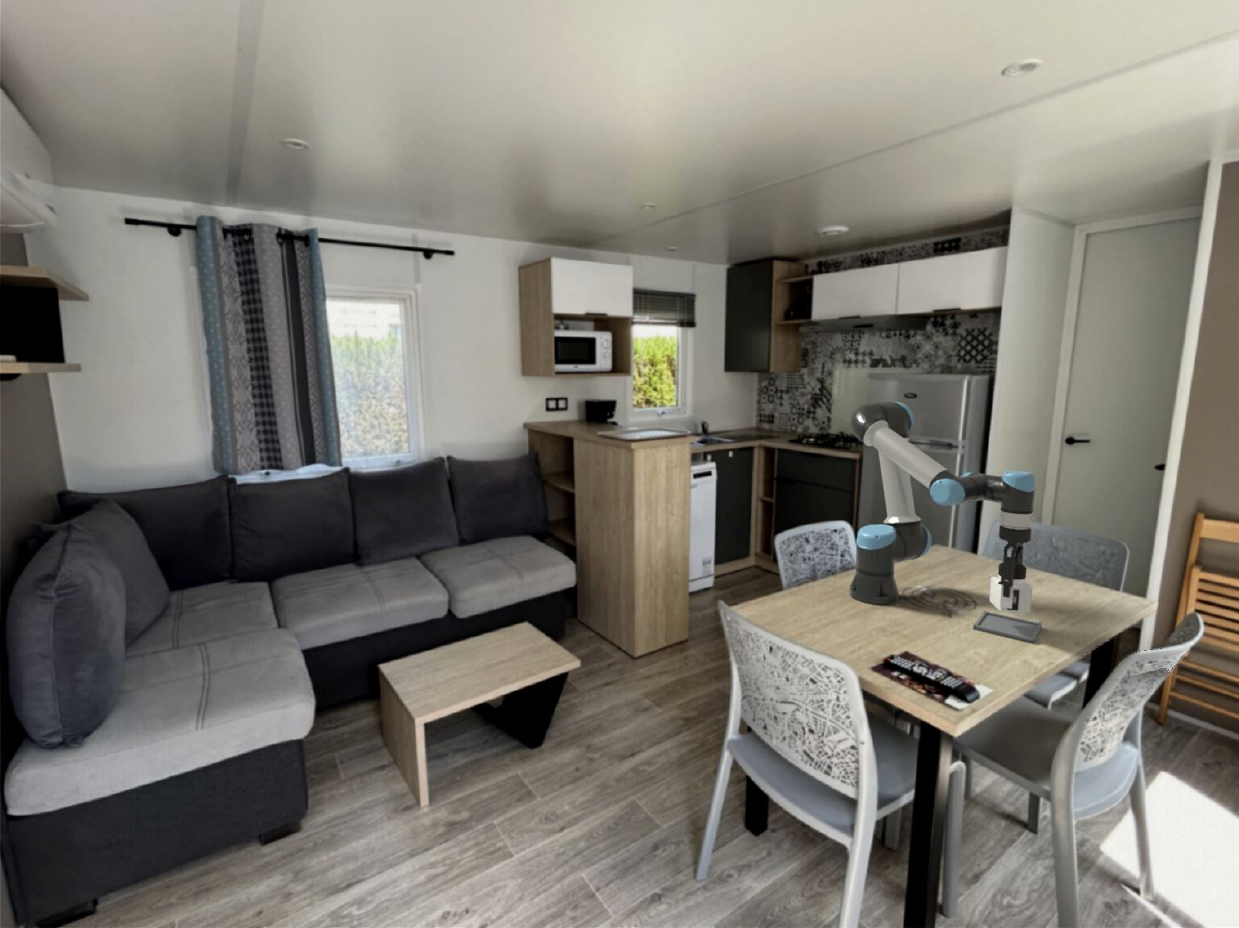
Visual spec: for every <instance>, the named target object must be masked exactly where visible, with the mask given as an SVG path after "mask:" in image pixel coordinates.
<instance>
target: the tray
mask: <svg viewBox="0 0 1239 928" xmlns="http://www.w3.org/2000/svg"><path fill="white" fill-rule="evenodd" d="M1042 627H1043V623H1040V622H1037V621H1031V620H1027V619H1022V618H1017V617H1014V616H1008V615H1005V614H999V613H994V612H991V611H986V610H983V611H982V613H981V615H980V616H979V617H978V619H977V620H976V621H975V622H974V624H973V627H972V629H973V630H975V631H978V632H983V633H987V634H991V635H996V636H1000V637H1004V638H1008V639H1013V640H1016V641H1021V642H1024V643H1028V644H1032V645H1035V642H1036V640H1037V638H1038V636H1039V635H1040V633H1041V630H1042Z"/></svg>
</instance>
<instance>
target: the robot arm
mask: <svg viewBox="0 0 1239 928" xmlns="http://www.w3.org/2000/svg"><path fill="white" fill-rule="evenodd" d="M849 426H850V429H851V432H852V433H853V434H854V436H855V437H856V438H857V439H858V440H859V441H860V442H862V443H863V444H864V445H865V446H867V447H873V448H875V449H876V450H878V459H879V466H880V471H881V478H882V485H883V487H882V488H883V493H884V501H885V507H886V515H887V516H886V518H885V519H884V520H883V524H882V523H879V524H878V523H877V524H868V525H865V526H863V527H860V529H858V531H857V537H856V553H855V558H856V559H855V562H856V563H855V572H854V576H853V578H852V581H851V582H850V585H849V593H850V594H849V596H850V597H852V598H853V599H855V600H857V601H859V600H860V602H862V603H866V604H867V603H868V604H873V605H891V604H895V603H896V602H898V601H899V600H900V597H899V596H900V591H899V588H898V585H897V582H896V579H895V578H896V577H895V564H897V563H902V562H906V561H913V560H917V559H919V558H922V557H923V556H925V555H926V554H927V553H928V552H929V551H930V550H931V547H932V542H933V541H932V539H933V538H932V535H931V533H930V530H929V529H928V528H927V527H926V526H925V525H924V524H923V523H922V518H921V517H919V516H918V515H916V510H915V504H914V496H913V495H914V494H913V489H912V483H911V477H913V478H914V479H915V480H917V481H918V482H919V483H920V484H921V485H923V486H925V488H927V489H928V490H929V491H930V492H929V493H930V497H931V498H932V500H933V501H934V502H935V504H937V505H940V506H945V507H946V506H957V505H960V504H966V503H971V502H978V501H986V502H987V501H988V502H994V503H1000V513H999V524H1000V525H999V528H998V529H999V530H998V538H999V539H1000V540H1002V541H1005V542H1007V543H1006V545H1005V546H1004V549H1003V567H1002V575H1001V581H1000V582H998V584H1001V585H1002V587H1001V600H1000V607H1005V608H1010V609H1012V601H1013V588H1014V586H1013V580H1014V574H1015V568H1016V564H1017V563H1019V564H1022V565H1024V564H1023V561H1024V560H1023V558H1024V556H1023V555H1024V553H1023V552H1024V544H1025V543H1026V544H1027V543H1029V542H1031V541H1032V532H1033V530H1032V529H1031V527H1032V526H1033V521H1035V520H1036V517H1035V516H1033V514H1034V503H1035V502H1034V501H1035V491H1036V476H1035V474H1034V473H1032V472H1029V471H1027V470H1026V471H1025V470H1006V471H1005V472H1003V474H1002V476H1001V475H1000V476H998V475H992V474H986V473H985V474H984V473H981V472H964V473H963V474H962V475H961V476H957V475H956V474H954V473H953V472H951V471H950V470H949V469H947V468H946V467H944V466H943V465H941V464H940V463H939V462H937V461H936V460H934V459H933V458H931V456H929V455H927V454H926V453H925V452H923V451H922V450H921V449H919V448H918V447H917V446H915V445H914V444H912V443H911V442H909V440H910V432H912V430H913V427H914V426H915V416H914V412H913V411H912V409H911V408H910V406H908V405H907V404H905V403H903V402H899V401H891V400H890V401H883V402H867V403H864V404H863V403H862V404H861V405H859V406H857V407H856V408H855V409H854V410H853V411H852V414H851V416H850V418H849ZM1005 580H1007V581H1005Z"/></svg>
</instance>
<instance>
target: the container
mask: <svg viewBox="0 0 1239 928" xmlns="http://www.w3.org/2000/svg"><path fill="white" fill-rule="evenodd" d="M1002 567H1003V562H1000V563H999V564H998V573H997V576H991V578H990V590H989V603H991V604H992V605H993V606H994V607H995V608H996V609H997V610H998V611H999V612H1000V613H1001V612H1002V613H1003V612H1004V613H1020V614H1021V613H1022V614H1030V613H1031V611H1032V601H1033V600H1032V597H1033V587H1032V586H1031V585H1030V584H1029V583H1028V582H1026V581H1027V580H1026V579H1027V567H1026V565H1024V564H1023V565H1022V564H1019V563H1017V564H1016V568H1015V574H1014V580H1013V586H1014V588H1013V601H1012V609H1010V608H1005V607H1000V600H1001V587H1002V585H1001V584H998V582H1000V581H1001V575H1002ZM1005 581H1007V580H1005Z"/></svg>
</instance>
